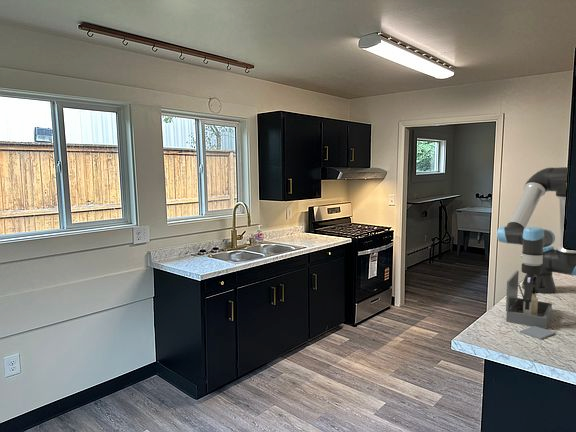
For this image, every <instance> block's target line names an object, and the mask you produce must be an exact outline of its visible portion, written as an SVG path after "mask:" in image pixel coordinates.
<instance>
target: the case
mask: <svg viewBox="0 0 576 432" xmlns="http://www.w3.org/2000/svg"><path fill="white" fill-rule="evenodd" d="M519 274H520V271H519V270H515V272H513V274H512V275H511V276H510V278H508V279H507V281H506V297H505V298H506V299H505V301H506V302H505V303H506V304H505V312H506V323H507V322H508V323H511V324H517V325H522V326H528V327H533V326H537V327H540V328H543V329H546V328H547V326H548V323H549V321H550V318H551V316H552V312H553V303H552V302H544V301H539V300H538V308H537V313H544V315H543V316H540V315H537V316H535V315H529V314H523V313H522V312H518V311H517V310H518V309H521V310H522V309H523V301H522V299H523V297H524V293H523V292H524V291H523V290H522V289H523V288H522V286H521V284H519ZM518 291H519V292H520V295H521V297H522V298H520V297H518V296H519V292H518ZM546 330H547V329H546Z"/></svg>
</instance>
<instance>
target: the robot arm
mask: <svg viewBox="0 0 576 432" xmlns="http://www.w3.org/2000/svg"><path fill="white" fill-rule="evenodd" d="M568 167H569V166H567V167H563V166H561V167H559V166H558V167H545V168H543V169H541V170H538V171H537V172H536V173H534V174H533V175H532V176H530V177H529V178H528V179H527V181H526V182H525V184H524V186H523V193H522V195H521V198H519V201H518V203H517V205H516V207H515V209H514V211H513V213H512V215H511V217H510V219H509V221H508V223H507V225H506V226H499V227H498V229H497V231H496V238H497V241H498V242H499V243H505V244H507V245H509V244H511V245H512V244H513V245H519V246H522V251H521V253H522V254H521V255H520V257H521V258H522V259H521V262H522V263H521V270H520V271H521V272H522V273H523V274H525V276H524V278H523V281H522V282H521V283H522V284H521V289H524V290H523V292H524V293H523V295H524V298H523V297H522V298H521V299H522V301H524V309H523V314H529V315H531V305H532V302H531V298H532V295H534V296H535V297H536V298H537V294H539V293H540V294H551V293H555V292H556V290H557V289H556V288H557V287H556V283H555V280H554V277H553V273H558V274H564V275H568V276H576V251H572V250H566V249H564V248H563V231H564V214H565V199H566V183H567V169H568ZM547 192H555V196H556V197H557V199H559V245H558V246H557V247H556V249H555V248H554V246H553V244H554V242H555V241H556V236H555V233H554V232H553V231H552V230H551V229H546V228H545V229H543V227H535V226H534V227H531V226H530V227H528V223H529V221H530V219H531V218H532V215H533V213H534V211H535V209H536V208H537V205H538V204H539V201H540V200H541V198H542V197H543V196H545V194H546V193H547ZM527 298H529V299H527Z"/></svg>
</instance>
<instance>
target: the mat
mask: <svg viewBox="0 0 576 432" xmlns="http://www.w3.org/2000/svg"><path fill="white" fill-rule="evenodd" d="M519 333H520V334H524V335H525V336H526V335H527V336H529V337H532V338H535V339H538V340H543V339H546V338H548V337H552V336H555V335H556V332H555V331H552V330H550V329H543V328H540V327H537V326H533V327H532V326H529V327H527V328H525V329H522V330H519Z"/></svg>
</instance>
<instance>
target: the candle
mask: <svg viewBox="0 0 576 432" xmlns="http://www.w3.org/2000/svg"><path fill="white" fill-rule="evenodd" d="M523 298H524V297H522V299H523ZM527 299H529V298H527ZM538 301H539V299H538V298H537V296H536V297H535V296H534V295H532V298H531V302H532V305H531V315H535V316H538V312H537V308H538ZM523 309H524V301H523ZM523 309H521V310H522V312H521V313H523Z"/></svg>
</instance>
